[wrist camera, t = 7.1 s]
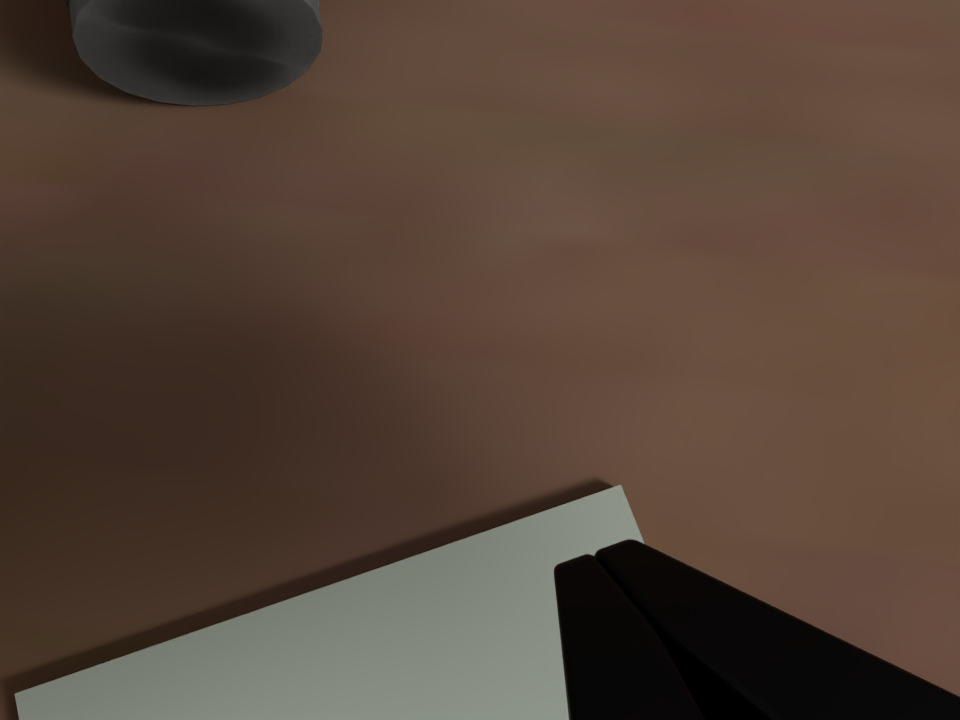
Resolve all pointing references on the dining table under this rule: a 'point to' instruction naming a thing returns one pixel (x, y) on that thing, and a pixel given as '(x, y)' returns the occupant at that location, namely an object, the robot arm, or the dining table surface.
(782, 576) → the dining table surface
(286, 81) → the beverage cup
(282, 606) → the mat
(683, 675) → the robot arm
